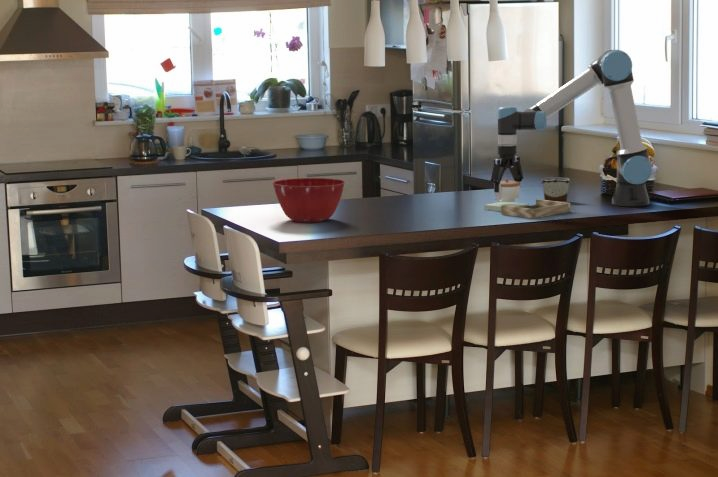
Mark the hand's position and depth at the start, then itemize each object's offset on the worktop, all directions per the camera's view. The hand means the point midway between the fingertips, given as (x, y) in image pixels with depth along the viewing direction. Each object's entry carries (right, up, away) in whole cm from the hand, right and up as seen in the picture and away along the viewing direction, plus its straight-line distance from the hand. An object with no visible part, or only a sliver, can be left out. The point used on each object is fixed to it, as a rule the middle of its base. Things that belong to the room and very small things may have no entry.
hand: (506, 198), depth 475 cm
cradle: (+10, -6, -10) cm, 16 cm away
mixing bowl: (-80, -9, -19) cm, 83 cm away
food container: (+23, -1, +21) cm, 31 cm away
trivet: (0, -4, +1) cm, 4 cm away
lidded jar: (0, -1, 0) cm, 1 cm away
